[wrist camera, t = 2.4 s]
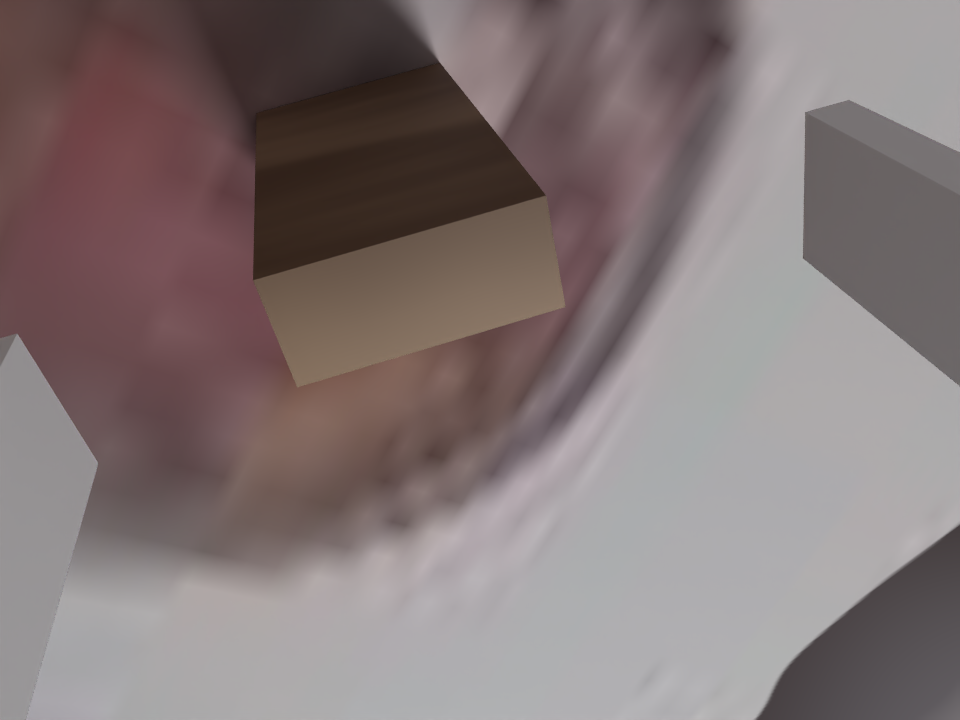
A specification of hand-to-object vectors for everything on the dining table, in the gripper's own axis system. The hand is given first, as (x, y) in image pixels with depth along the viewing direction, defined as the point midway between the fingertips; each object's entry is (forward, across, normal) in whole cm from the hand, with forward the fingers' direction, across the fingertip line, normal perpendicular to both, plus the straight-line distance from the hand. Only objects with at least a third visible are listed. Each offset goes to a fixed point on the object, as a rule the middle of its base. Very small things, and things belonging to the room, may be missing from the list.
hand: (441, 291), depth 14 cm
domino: (+10, +1, 0) cm, 10 cm away
